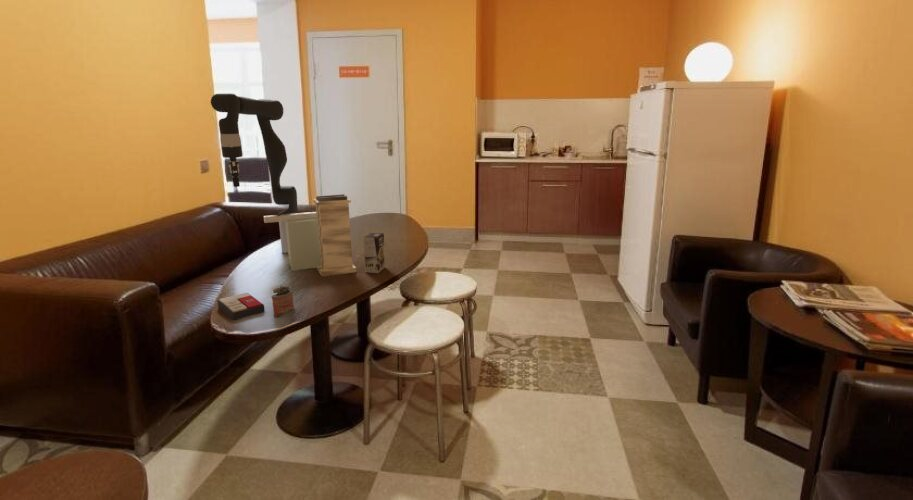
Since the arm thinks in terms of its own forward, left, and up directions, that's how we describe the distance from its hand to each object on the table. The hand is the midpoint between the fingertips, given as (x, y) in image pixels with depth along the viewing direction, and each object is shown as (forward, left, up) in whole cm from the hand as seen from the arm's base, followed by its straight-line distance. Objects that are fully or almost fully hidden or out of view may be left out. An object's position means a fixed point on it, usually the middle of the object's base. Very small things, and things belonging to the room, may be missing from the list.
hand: (236, 185), depth 206 cm
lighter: (+52, +9, -40) cm, 66 cm away
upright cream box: (-4, +26, -39) cm, 48 cm away
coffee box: (+16, +52, -40) cm, 68 cm away
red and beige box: (+42, -4, -40) cm, 58 cm away
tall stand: (+10, +36, -39) cm, 55 cm away
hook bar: (-4, +21, -17) cm, 28 cm away
